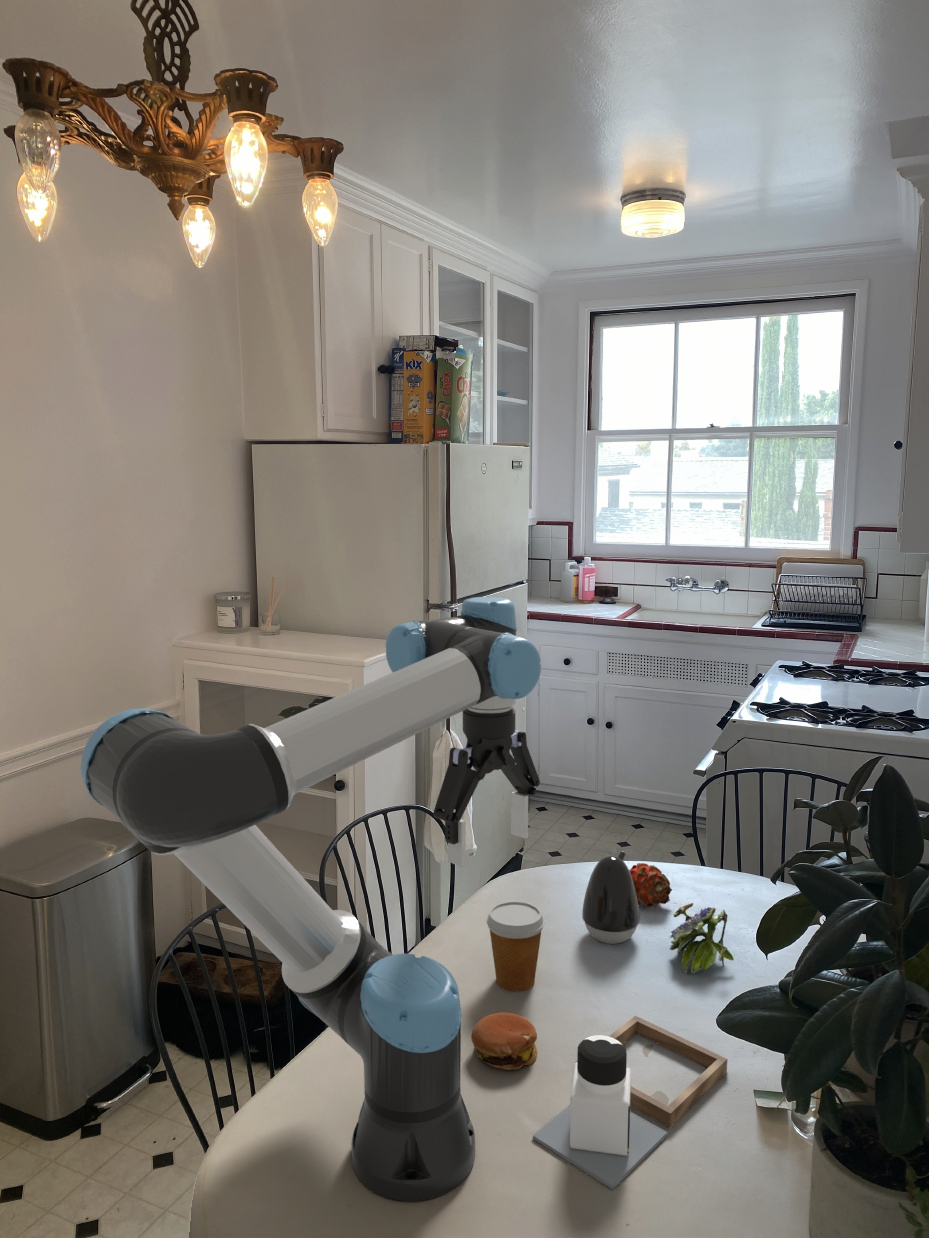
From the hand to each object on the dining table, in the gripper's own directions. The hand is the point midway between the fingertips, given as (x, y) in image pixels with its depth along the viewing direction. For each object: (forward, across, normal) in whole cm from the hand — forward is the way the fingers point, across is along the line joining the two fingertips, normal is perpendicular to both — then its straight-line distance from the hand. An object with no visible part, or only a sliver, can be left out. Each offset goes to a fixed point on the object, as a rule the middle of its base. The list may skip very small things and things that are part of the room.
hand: (489, 849), depth 131 cm
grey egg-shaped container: (+29, -36, -3) cm, 46 cm away
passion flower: (+29, -40, +13) cm, 51 cm away
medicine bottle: (+28, +7, +25) cm, 38 cm away
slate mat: (+29, +7, +25) cm, 39 cm away
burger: (+29, +2, +5) cm, 30 cm away
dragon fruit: (+29, -51, -6) cm, 59 cm away
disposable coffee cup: (+29, -13, -6) cm, 32 cm away
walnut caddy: (+29, -8, +23) cm, 38 cm away
